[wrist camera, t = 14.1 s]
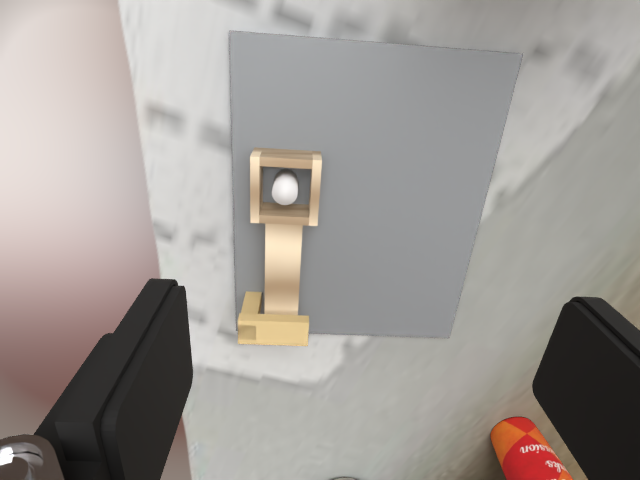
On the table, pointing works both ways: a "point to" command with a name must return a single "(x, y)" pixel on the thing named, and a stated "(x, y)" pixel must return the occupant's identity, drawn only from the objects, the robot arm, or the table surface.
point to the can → (344, 479)
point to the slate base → (366, 178)
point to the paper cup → (525, 452)
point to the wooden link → (283, 225)
